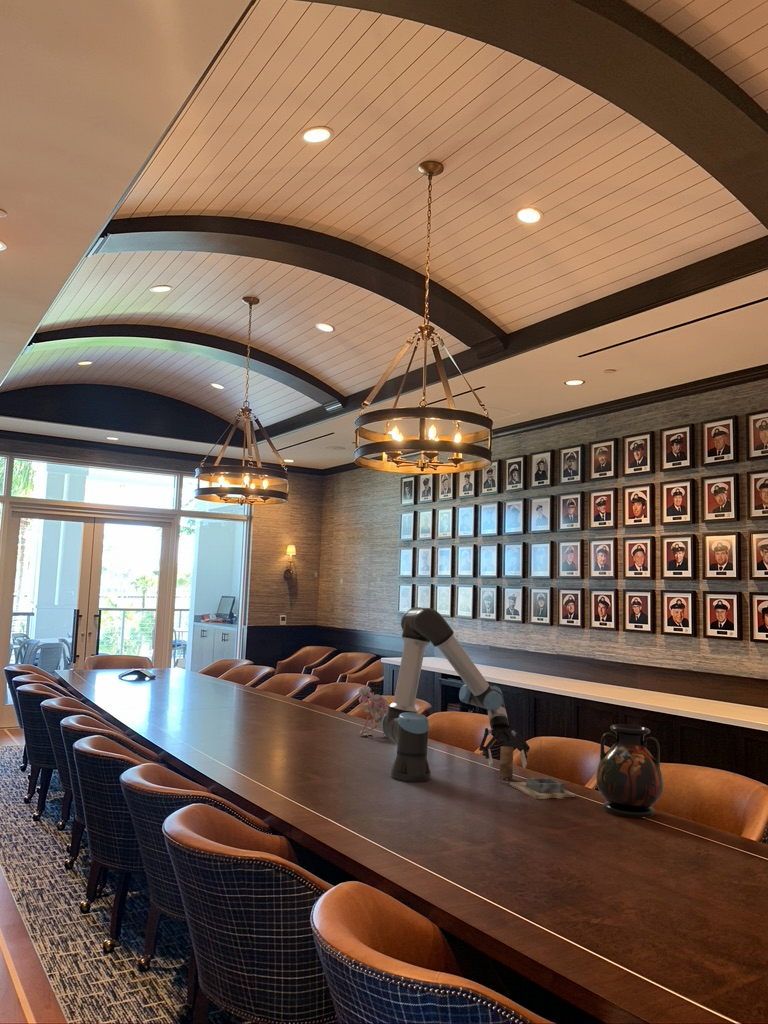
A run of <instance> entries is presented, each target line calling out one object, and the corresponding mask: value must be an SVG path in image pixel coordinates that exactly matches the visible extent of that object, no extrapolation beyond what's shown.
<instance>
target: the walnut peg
mask: <svg viewBox="0 0 768 1024" xmlns="http://www.w3.org/2000/svg"><path fill="white" fill-rule="evenodd" d="M513 771H514V746H509V745H502V746H500V756H499V777H500V778H503V779H512V780H513ZM500 778H499V779H500Z"/></svg>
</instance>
